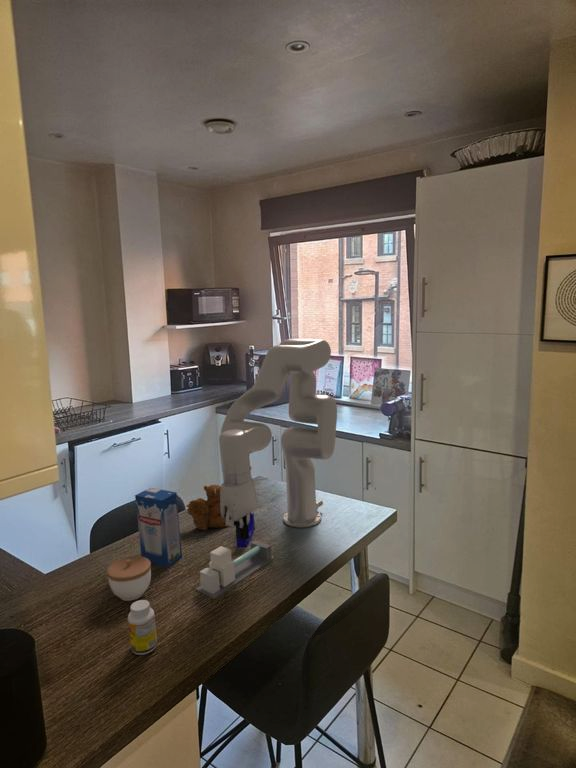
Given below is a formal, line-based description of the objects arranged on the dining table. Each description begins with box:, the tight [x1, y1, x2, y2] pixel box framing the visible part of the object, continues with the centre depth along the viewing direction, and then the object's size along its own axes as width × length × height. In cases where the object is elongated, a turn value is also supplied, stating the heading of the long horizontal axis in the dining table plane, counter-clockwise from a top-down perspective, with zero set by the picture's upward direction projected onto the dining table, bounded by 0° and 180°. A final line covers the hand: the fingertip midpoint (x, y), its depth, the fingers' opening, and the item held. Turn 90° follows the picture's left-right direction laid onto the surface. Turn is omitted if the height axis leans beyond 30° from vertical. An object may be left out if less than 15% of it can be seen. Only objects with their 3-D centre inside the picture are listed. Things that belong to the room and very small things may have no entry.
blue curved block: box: [235, 512, 256, 548], centre depth 161 cm, size 12×4×6 cm, turn 172°
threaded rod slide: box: [194, 539, 276, 600], centre depth 140 cm, size 24×7×5 cm, turn 142°
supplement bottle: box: [127, 599, 158, 656], centre depth 112 cm, size 6×6×10 cm
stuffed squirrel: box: [185, 484, 228, 531], centre depth 170 cm, size 10×14×13 cm
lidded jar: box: [106, 555, 152, 602], centre depth 133 cm, size 11×11×9 cm
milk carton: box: [134, 487, 183, 568], centre depth 149 cm, size 10×6×20 cm, turn 62°
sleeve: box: [208, 546, 235, 587], centre depth 136 cm, size 4×5×8 cm
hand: (243, 538), depth 142 cm, fingers closed
